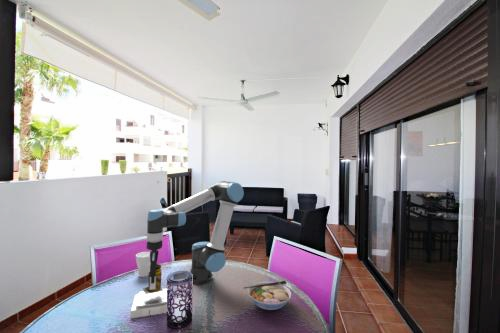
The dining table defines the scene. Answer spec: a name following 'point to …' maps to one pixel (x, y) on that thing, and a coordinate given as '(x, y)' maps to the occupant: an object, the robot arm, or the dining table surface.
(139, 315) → the base
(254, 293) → the ramen bowl
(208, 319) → the dining table surface
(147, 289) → the condiment
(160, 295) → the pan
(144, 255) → the cup
